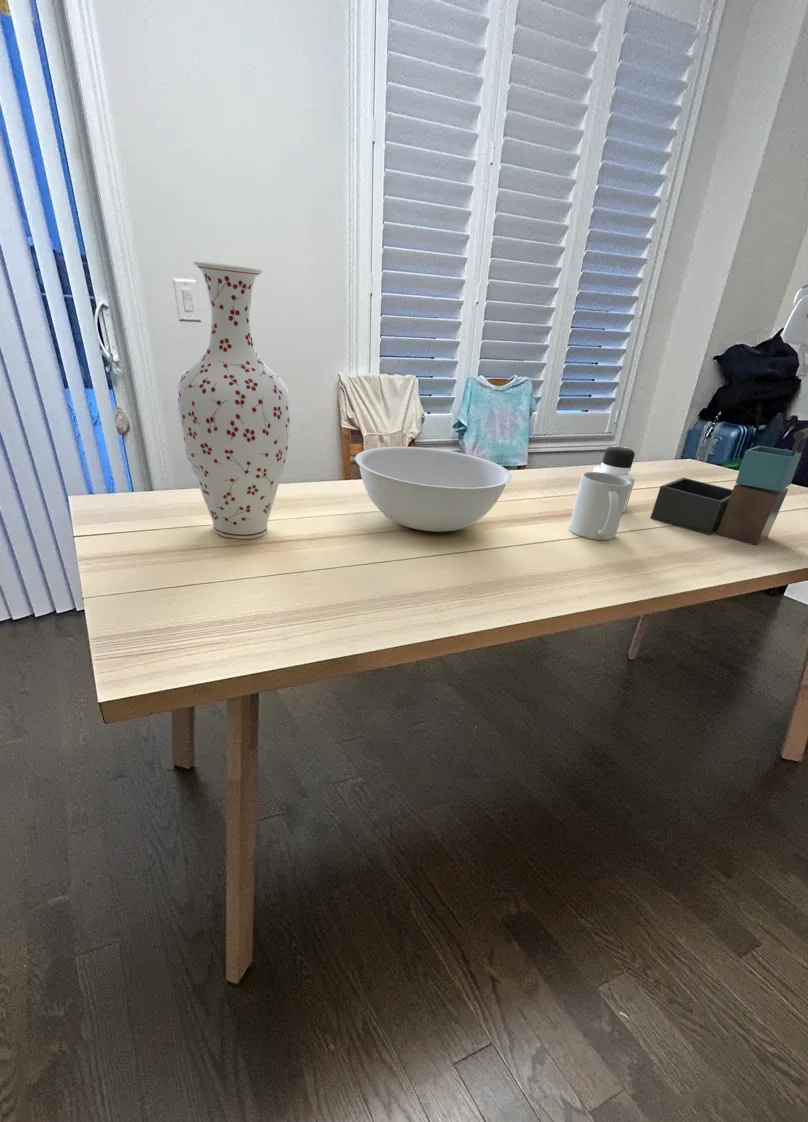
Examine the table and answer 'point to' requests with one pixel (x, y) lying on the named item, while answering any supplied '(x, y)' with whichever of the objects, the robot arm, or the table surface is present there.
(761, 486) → the box
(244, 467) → the vase
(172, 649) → the table surface
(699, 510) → the basket
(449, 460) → the bowl
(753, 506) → the stand
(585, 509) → the mug
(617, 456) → the medicine bottle
